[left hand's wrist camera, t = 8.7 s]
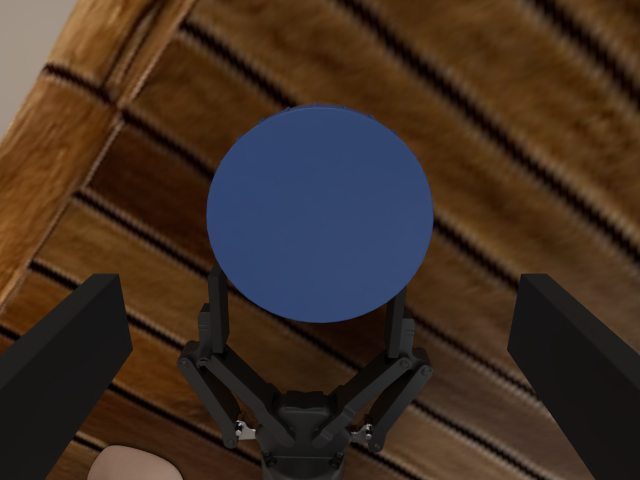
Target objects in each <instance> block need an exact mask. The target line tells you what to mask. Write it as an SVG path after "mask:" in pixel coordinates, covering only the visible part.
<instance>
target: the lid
mask: <svg viewBox="0 0 640 480" xmlns="http://www.w3.org/2000/svg"><path fill="white" fill-rule="evenodd" d="M258 123H259V124H258V125H256V126H255V127H254V128H252V129H251V130H250V131H248V132H247V133H246V134H245V135H244V134H243V135H242V136H240V137H239V138H238V139H237V140H236V141H237V142H236V143H235V144H234V145H233V146H232V147H231V149H230V150H229V152H228V153H227V154H226V156H225V157H224V158H223V160H221V161H220V165H219V167H218V169H217V171H216V173H215V176H214V178H213V181H212V184H211V186H210V191H209V196H208V201H207V229H208V234H209V239H210V243H211V246H212V249H213V252H214V254H215V257H216V259H217V261H218V263H219V265H220V267H221V268H222V270H223V271H224V273H225V274H226V276H227V277H228V279H229V280H230V281H231V282H232V283H233V284H234V286H235V287H236V288H237V289H238V290H239V291H240V292H241V293H243V294H244V295H245V296H246V297H247V298H248V299H250V300H251V301H253V302H254V303H255V304H257V305H258V306H260V307H262V308H264V309H266V310H268V311H270V312H272V313H274V314H277V315H279V316H282V317H285V318H289V319H293V320H297V321H304V322H313V323H327V322H338V321H343V320H347V319H352V318H355V317H358V316H361V315H364V314H366V313H368V312H370V311H372V310H375V309H376V308H378V307H380V306H381V305H383V304H385V303H386V302H388V301H389V300H390V299H391V298H393V297H394V296H395V295H397V294H398V293H399V292H400V291H401V290H402V289H403V288H404V287H405V286H406V285H407V284H408V282H409V281H410V280H411V278H412V277H413V276H414V275H415V273H416V271H417V270H418V268H419V266H420V265H421V263H422V261H423V259H424V256H425V254H426V252H427V249H428V246H429V242H430V239H431V235H432V227H433V202H432V196H431V191H430V187H429V184H428V181H427V180H428V179H427V178H426V176H425V173H424V171H423V169H422V167H421V165H420V163H419V162H418V160H417V159H416V157H415V156H416V155H415V154H414V153H413V152H412V151H411V150H410V149H409V148H408V147H407V146H406V144H405V143H404V142H403V141H402V140H401V139H400V138H399V137H397V135H398V134H397V133H396V132H394V131H393V130H392V129H390V130H389V129H388V128H387V127H385V126H384V125H383V124H381V123H380V122H378V121H377V120H375V119H374V117H372V116H371V115H370V114H368V115H365V114H363V113H361V112H359V111H356V110H353V109H350V108H346V107H345V105H342V107H341V106H336V105H325V104H317V103H315V104H313V105H304V106H298V107H294V108H290V107H287V108H286V109H285V110H284V111H282V112H279V113H277V114H274V115H272V116H270V117H269V118H267V119H265V118H263V119H262V120H260V121H259V122H258Z"/></svg>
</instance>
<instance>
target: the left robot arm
mask: <svg viewBox="0 0 640 480" xmlns="http://www.w3.org/2000/svg"><path fill="white" fill-rule="evenodd" d="M132 350H133V348H132V342H131V337H130V332H129V326H128V321H127V316H126V310H125V305H124V300H123V294H122V289H121V284H120V278H119V274H93V275H92V276H90V277H89V278H88V279H87V280H86V281H85V282H84V283H82V284H81V285H80V286H79V287H78V288H77V289H76V290H74V291H73V292H72V293H71V294H70V295H69V296H68V297H66V298H65V299H64V300H63V301H62V302H61V303H60V304H58V305H57V306H56V307H55V308H54V309H53V310H52V311H50V312H49V313H48V314H47V315H46V316H45V317H44V318H42V319H41V320H40V321H39V322H38V323H37V324H36V325H34V326H33V327H32V328H31V329H30V330H29V331H28V332H26V333H25V334H24V335H23V336H22V337H21V338H20V339H18V340H17V341H16V342H15V343H14V344H13V345H12V346H10V347H9V348H8V349H7V350H6V351H5V352H4V353H2V354H1V355H0V480H45V478H46V477H47V475H48V474H49V472H50V471H51V469H52V468H53V466H54V465H55V463H56V462H57V461H58V459H59V458H60V456H61V455H62V453H63V452H64V450H65V449H66V447H67V446H68V444H69V443H70V441H71V440H72V439H73V437H74V436H75V434H76V433H77V431H78V430H79V428H80V427H81V425H82V424H83V422H84V421H85V419H86V418H87V416H88V415H89V414H90V412H91V411H92V409H93V408H94V406H95V405H96V403H97V402H98V400H99V399H100V397H101V396H102V394H103V393H104V392H105V390H106V389H107V387H108V386H109V384H110V383H111V381H112V380H113V378H114V377H115V375H116V374H117V372H118V371H119V370H120V368H121V367H122V365H123V364H124V362H125V361H126V359H127V358H128V356H129V355H130V353H131V352H132ZM507 350H508V352H509V353H510V355H511V356H512V358H513V359H514V361H515V362H516V364H517V365H518V367H519V368H520V370H521V371H522V372H523V374H524V375H525V377H526V378H527V380H528V381H529V383H530V384H531V386H532V387H533V389H534V390H535V392H536V393H537V394H538V396H539V397H540V399H541V400H542V402H543V403H544V405H545V406H546V408H547V409H548V411H549V412H550V414H551V415H552V417H553V418H554V419H555V421H556V422H557V424H558V425H559V427H560V428H561V430H562V431H563V433H564V434H565V436H566V437H567V439H568V440H569V441H570V443H571V444H572V446H573V447H574V449H575V450H576V452H577V453H578V455H579V456H580V458H581V459H582V461H583V462H584V463H585V465H586V466H587V468H588V469H589V471H590V472H591V474H592V475H593V477H594V478H595V480H640V355H639V354H638V353H636V352H635V351H634V350H633V349H632V348H631V347H630V346H628V345H627V344H626V343H625V342H624V341H623V340H622V339H620V338H619V337H618V336H617V335H616V334H615V333H614V332H612V331H611V330H610V329H609V328H608V327H607V326H606V325H604V324H603V323H602V322H601V321H600V320H599V319H598V318H596V317H595V316H594V315H593V314H592V313H591V312H590V311H588V310H587V309H586V308H585V307H584V306H583V305H582V304H580V303H579V302H578V301H577V300H576V299H575V298H574V297H572V296H571V295H570V294H569V293H568V292H567V291H566V290H564V289H563V288H562V287H561V286H560V285H559V284H558V283H556V282H555V281H554V280H553V279H552V278H551V277H550V276H548V275H547V274H521V278H520V284H519V289H518V294H517V300H516V305H515V310H514V316H513V321H512V326H511V332H510V337H509V342H508V348H507Z"/></svg>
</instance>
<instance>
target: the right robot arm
mask: <svg viewBox="0 0 640 480" xmlns="http://www.w3.org/2000/svg"><path fill="white" fill-rule="evenodd" d="M406 288H407V285H406V286H405V287H404V288H403V289H402V290H401V291H400V292H399V293H398V294H397V295H395V296H394V297H393V298H391V299H390V300H389V301H388V302H387V310H386V320H385V330H384V341H385V345H386V349H385V350H384V351H383V352H382V353H381V354H379V355H378V356H377V357H376V358H375V359H374V360H373V361H371V362H370V363H369V364H368V365H367V366H366V367H365V368H363V369H362V370H361V371H360V372H359V373H358V374H357V375H355V376H354V377H353V378H352V379H351V380H350V381H349V382H347V383H346V384H345V385H344V386H342V385H340V386H338V387H337V388H336V389H335V390H334V391H332V392H331V393H330V394H329V395H328V396H327V395H324V394H323V391H313V392H308V393H303V392H299V391H287V393H286V394H282V393H281V392H280V391H279V390H278V389H277V388H276V387H275V386H274V385H273V384H271V383H268V384H267V383H266V382H265V381H264V380H263V379H262V378H261V377H260V376H259V375H258V374H257V373H256V372H255V371H254V370H253V369H252V368H250V367H249V366H248V365H247V364H246V363H245V362H244V361H243V360H242V359H241V358H240V357H239V356H238V355H237V354H236V353H235V352H234V351H233V350H232V349H231V348H230V347H229V346H228V345H227V344H226V342H227V339H228V336H229V315H228V295H227V276H226V274H225V273H224V271H223V270H222V268H221V267H220V265H219V263H218V262H217V261H216V263H215V265H214V266H213V268H212V270H211V272H210V273H209V275H208V290H209V303H204V305H203V307H202V309H201V311H200V314H199V316H198V328H199V341H198V342H196V341H188V342H187V343H186V345H185V347H184V349H183V351H182V353H181V355H180V357H179V359H178V361H177V367H178V368H179V370H180V371H181V373H182V374H183V375H184V377H185V378H186V380H187V381H188V383H189V384H190V385H191V387H192V388H193V390H194V391H195V393H196V394H197V396H198V397H199V398H200V400H201V401H202V403H203V404H204V406H205V407H206V408H207V410H208V411H209V413H210V414H211V416H212V417H213V418H214V420H215V421H216V423H217V424H218V426H219V427H220V428H221V433H222V438H223V442H224V445H225V446H226V447H227V448H235V447H236V446H237V445H238V440H243V439H256V441H257V442H258V443H259V445H260V447H261V463H262V480H343V477H344V464H345V451H346V448H347V447H348V445H349V444H350V443H351V442H360V443H368V445H369V449H370V451H372V452H380V451H381V450H382V448H383V445H384V441H385V437H386V434H387V432H388V431H389V430H390V428H391V427H392V426H393V424H394V423H395V422H396V421H397V419H398V418H399V417H400V415H401V414H402V413H403V412H404V410H405V409H406V408H407V406H408V405H409V404H410V402H411V401H412V400H413V399H414V397H415V396H416V395H417V393H418V392H419V391H420V390H421V388H422V387H423V386H424V384H425V383H426V382H427V381H428V379H429V378H430V377H431V375H432V374H433V368H432V365H431V363H430V360H429V358H428V355H427V352H426V350H425V349H424V348H421V347H418V348H413V347H412V345H413V337H414V330H415V323H414V320H413V317H412V314H411V312H410V310H404V305H405V296H406ZM228 388H229V389H230V390H231V391H232V392H233V393H234V394H235V395H236V396H238V397H239V398H240V399H241V400H242V401H243V402H244V403H245V404H246V405H247V406H248V407H249V408H250V409H252V411H253V413H254V416H255V418H256V419H257V420H258V421H257V422H252V421H250V420H249V418H248V417H247V416H246V412H245V411H244V410H242V411H240V407H239V405H238V403H237V401H236V399H235V398H234V396H233V395H232V393H231V392H230V390H229V389H228ZM383 390H384V391H383ZM382 391H383V392H382ZM381 392H382V393H381ZM379 393H381V395H380V396H379V397H378V399H377V400H376V401H375V403H374V404H373V406H372V407H371V410H370V412H369V415H368V414H364V415H363V419H361V421H360V423H358V424H357V425H351V422H352V420H353V419H354V416H355V414H356V413H357V412H358V411H359V410H360V409H362V408H363V407H364V406H365V405H366V404H367V403H369V402H370V401H371V400H372V399H373V398H375V397H376V396H377V395H378V394H379Z"/></svg>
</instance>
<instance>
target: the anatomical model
mask: <svg viewBox="0 0 640 480" xmlns="http://www.w3.org/2000/svg"><path fill="white" fill-rule="evenodd" d="M87 480H183V479H182V476H181V475H180V473H179V471H178V470H177V469H176V468H175V467H174V466H173V465H172V464H171V463H169V462H168V461H166V460H164V459H162V458H160V457H158V456H156V455H153V454H151V453H148V452H145V451H142V450H138V449H135V448H131V447H126V446H118V445H114V446H109V447H107V448H105V449H104V450H103V451H102V452H101V453H100V454H99V456H98V457H97V459H96V460H95V462H94V463H93V465H92V467H91V469H90V472H89V475H88V479H87Z"/></svg>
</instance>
